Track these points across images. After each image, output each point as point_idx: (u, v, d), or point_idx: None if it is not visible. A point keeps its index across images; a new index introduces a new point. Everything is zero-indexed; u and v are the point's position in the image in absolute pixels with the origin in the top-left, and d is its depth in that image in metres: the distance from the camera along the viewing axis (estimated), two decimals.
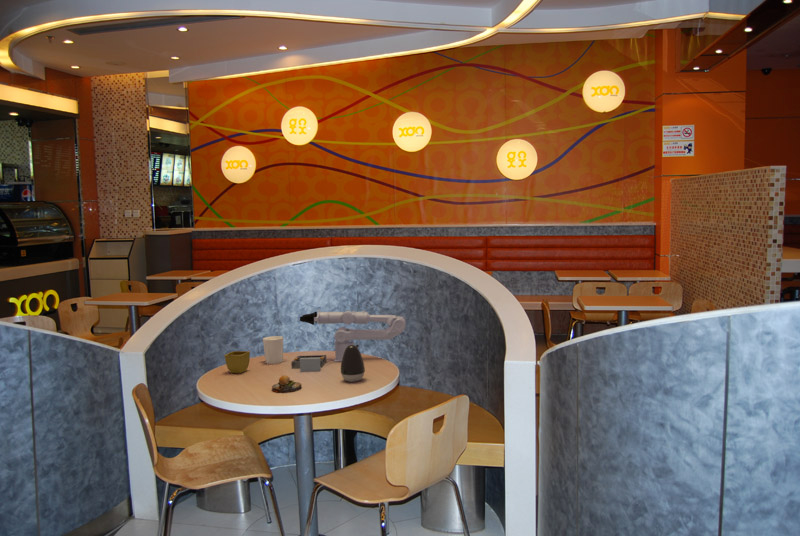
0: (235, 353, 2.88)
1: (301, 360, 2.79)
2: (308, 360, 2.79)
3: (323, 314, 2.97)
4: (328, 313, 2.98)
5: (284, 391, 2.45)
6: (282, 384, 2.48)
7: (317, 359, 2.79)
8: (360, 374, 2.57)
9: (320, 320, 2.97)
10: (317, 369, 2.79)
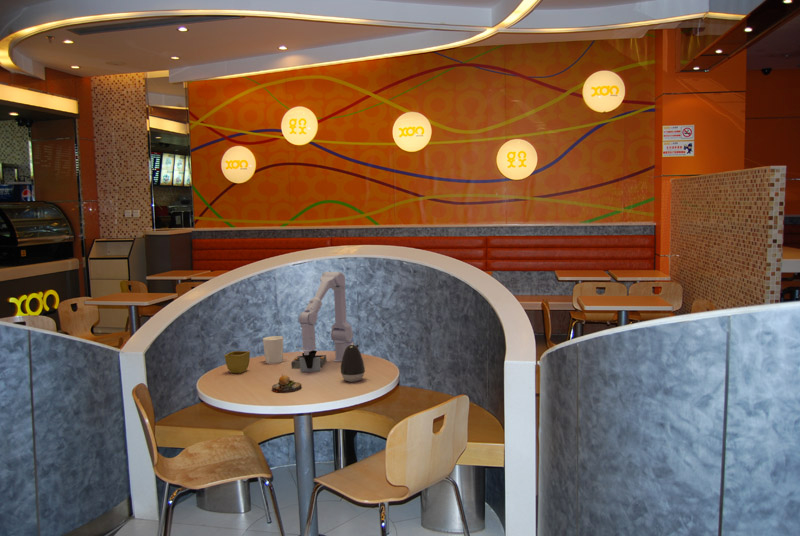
0: (235, 353, 2.88)
1: (301, 360, 2.79)
2: None
3: (304, 344, 2.78)
4: (303, 339, 2.78)
5: (284, 391, 2.45)
6: (282, 384, 2.48)
7: (317, 359, 2.79)
8: (360, 374, 2.57)
9: (310, 347, 2.77)
10: (317, 369, 2.79)
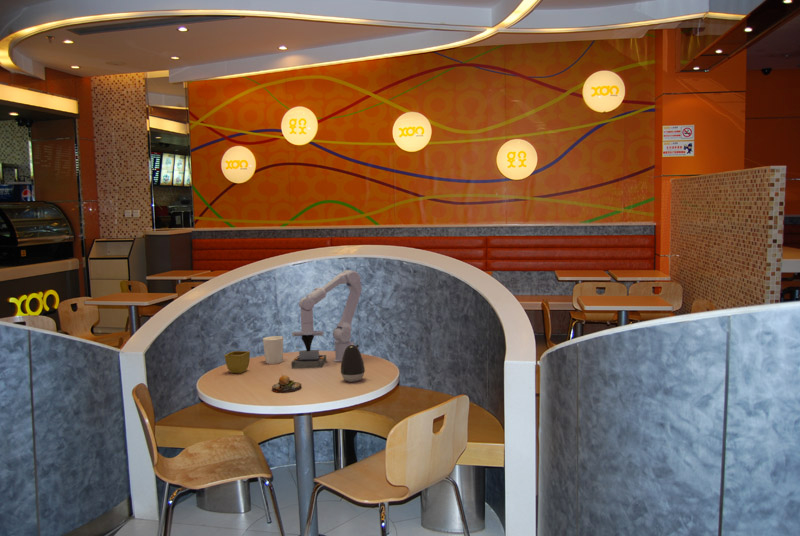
0: (235, 353, 2.88)
1: (300, 352, 2.92)
2: (307, 352, 2.92)
3: None
4: None
5: (284, 391, 2.45)
6: (282, 384, 2.48)
7: (316, 351, 2.92)
8: (360, 374, 2.57)
9: (301, 331, 2.92)
10: None
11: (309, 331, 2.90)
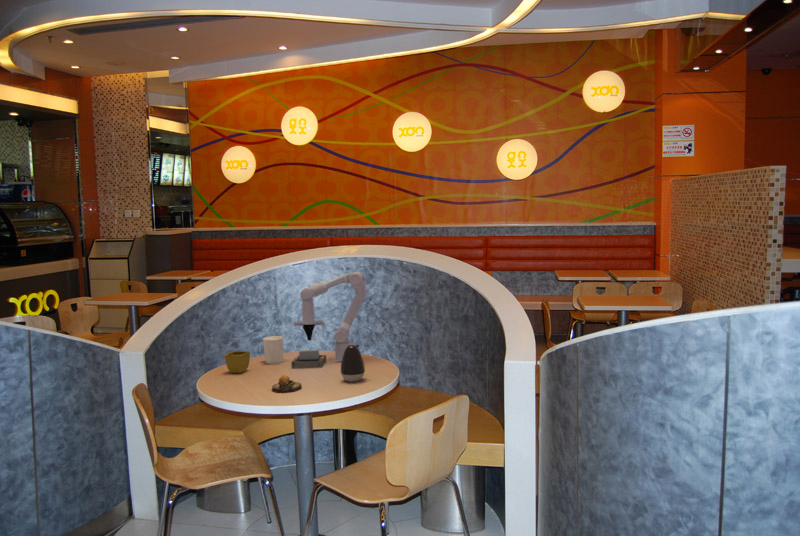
0: (235, 353, 2.88)
1: (300, 352, 2.92)
2: (307, 352, 2.92)
3: None
4: None
5: (284, 391, 2.45)
6: (282, 384, 2.49)
7: (316, 351, 2.92)
8: (360, 374, 2.57)
9: None
10: None
11: (310, 320, 2.98)
